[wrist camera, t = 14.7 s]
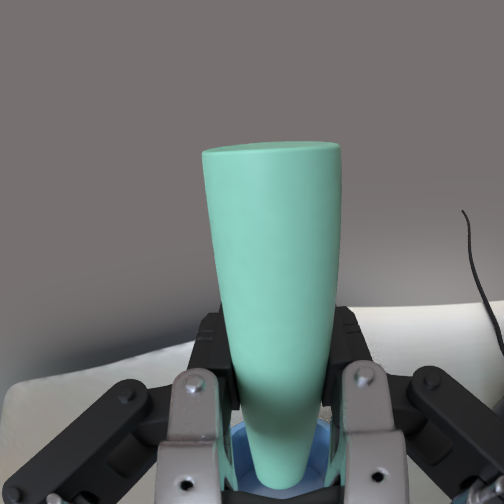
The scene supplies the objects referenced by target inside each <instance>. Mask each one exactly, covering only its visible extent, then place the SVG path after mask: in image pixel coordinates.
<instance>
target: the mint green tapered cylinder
mask: <svg viewBox="0 0 504 504" xmlns="http://www.w3.org/2000/svg"><path fill="white" fill-rule="evenodd" d="M202 163H203V172H204V180H205V189H206V196H207V205H208V212H209V220H210V227H211V235H212V242H213V249H214V255H215V262H216V269H217V276H218V282H219V288H220V294H221V301H222V307H223V313H224V319H225V325H226V330H227V336H228V342H229V347H230V353H231V358H232V363H233V368H234V373H235V378H236V384H237V389H238V394H239V399H240V404H241V409H242V413H243V418H244V423H245V427H246V432H247V437H248V441H249V446H250V450H251V454H252V459H253V463H254V467H255V471H256V475H257V478H258V479H259V481H260V482H261V483H262V484H263V485H265V486H266V487H269V488H272V489H278V490H281V489H287V488H290V487H293V486H294V485H296V484H297V483H299V482H300V481H301V479H302V478H303V476H304V473H305V470H306V466H307V462H308V458H309V454H310V450H311V446H312V442H313V438H314V433H315V429H316V424H317V420H318V415H319V410H320V405H321V400H322V394H323V388H324V383H325V377H326V371H327V365H328V358H329V352H330V344H331V337H332V329H333V321H334V312H335V302H336V292H337V280H338V267H339V250H340V231H341V230H340V229H341V194H342V184H341V180H342V176H341V175H342V174H341V173H342V171H341V147H340V145H339V144H337V143H330V142H310V141H301V142H300V141H299V142H298V141H294V142H293V141H291V142H267V143H252V144H243V145H233V146H225V147H219V148H213V149H209V150H205V151H204V152H203V153H202Z"/></svg>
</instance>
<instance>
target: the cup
mask: <svg viewBox="0 0 504 504" xmlns="http://www.w3.org/2000/svg"><path fill="white" fill-rule="evenodd" d="M231 438H232V449H233V460H234V469H235V475H236V479H237V484H238V491H244V492H248V493H252V494H256V495H261V496H266V497H271V498H276V499H287V498H291V497H294V496H298V495H301V494H305V493H308V492H311V491H314V490H317V489H320V488H323V487H324V483H325V477H326V472H327V467H328V456H329V439H330V425H329V424H328V423H327V422H325V421H323V420H321V419H319V418H318V420H317V424H316V429H315V433H314V438H313V442H312V446H311V450H310V454H309V458H308V462H307V466H306V470H305V473H304V476H303V478H302V479H301V481H300V482H299V483H297V484H296V485H294V486H293V487H290V488H287V489H281V490H278V489H272V488H269V487H266V486H265V485H263V484H262V483H261V482H260V481H259V479H258V478H257V475H256V471H255V467H254V463H253V459H252V454H251V450H250V446H249V441H248V437H247V432H246V427H245V423H244V421H243V422H241V423H239V424H237V425H235V426H234V427H233V428H232V429H231Z"/></svg>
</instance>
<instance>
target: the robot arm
mask: <svg viewBox="0 0 504 504" xmlns="http://www.w3.org/2000/svg"><path fill="white" fill-rule="evenodd" d="M462 213H463V214H464V216H465V218H466V221H467V225H468V252H469V260H470V264H471V269H472V272H473V276H474V278H475V281H476V284H477V287H478V290H479V292H480V294H481V297H482V299H483V302H484V304H485V306H486V309H487V311H488V313H489V315H490V318H491V320H492V322H493V324H494V327H495V330H496V334H497V339H498V343H499V346H500V349H501V351H502V353H503V355H504V343H503V339H502V335H501V331H500V327H499V325H498V322H497V320H496V318H495V316H494V313H493V311H492V309H491V307H490V305H489V303H488V300H487V298H486V296H485V294H484V291H483V289H482V287H481V284H480V282H479V279H478V276H477V273H476V270H475V267H474V263H473V259H472V253H471V235H470V223H469V220H468V217H467V215H466V214H465V212H464V211H463V210H462ZM322 406H323V407H325V406H331V411H332V417H331V421H330V439H329V456H328V467H327V472H326V477H325V483H324V487H323V488H320V489H317V490H314V491H311V492H308V493H305V494H301V495H298V496H294V497H291V498H287V499H276V498H271V497H266V496H261V495H256V494H252V493H248V492H244V491H238V484H237V479H236V475H235V469H234V460H233V449H232V438H231V426H230V420H231V411H232V410H239V409H240V399H239V394H238V389H237V384H236V378H235V373H234V368H233V363H232V358H231V353H230V347H229V342H228V336H227V330H226V325H225V319H224V313H223V307H222V301H221V305H220V309H219V313H208V314H207V316H206V317H205V318H204V319H203V320H202V321H201V324H200V327H199V330H198V334H197V337H196V341H195V344H194V347H193V350H192V354H191V357H190V361H189V364H188V367H187V370H186V371H184V372H182V373H180V374H179V375H178V376H177V377H176V378H175V380H174V382H173V384H171V385H168V386H163V387H157V388H151V389H147V388H146V386H145V385H144V384H143V383H142V382H140V381H138V380H135V379H126V380H122V381H120V382H118V383H116V384H115V385H114V386H112V387H111V388H110V389H109V390H108V391H107V392H106V393H105V394H103V395H102V396H101V397H100V398H99V399H98V400H97V401H96V402H95V403H93V404H92V405H91V406H90V407H89V408H88V409H87V410H86V411H84V412H83V413H82V414H81V415H80V416H79V417H78V418H77V419H76V420H74V421H73V422H72V423H71V424H70V425H69V426H68V427H67V428H65V429H64V430H63V431H62V432H61V433H60V434H59V435H58V436H56V437H55V438H54V439H53V440H52V441H51V442H50V443H49V444H47V445H46V446H45V447H44V448H43V449H42V450H41V451H39V452H38V453H37V454H36V455H35V456H34V457H33V458H32V459H30V460H29V461H28V462H27V463H26V464H25V465H24V466H22V467H21V468H20V469H19V470H18V471H17V472H16V473H14V474H13V475H12V476H11V477H10V478H9V479H8V480H7V481H6V482H5V483H4V485H3V489H2V497H3V501H4V503H5V504H116V503H117V502H118V501H119V500H120V499H121V498H122V497H123V496H124V495H125V494H126V493H127V492H128V491H129V490H130V489H131V488H132V487H133V486H134V485H135V484H136V483H137V482H138V481H139V480H140V479H141V478H142V476H143V475H144V474H145V473H146V472H147V471H148V470H149V469H150V468H151V467H152V466H153V464H154V463H155V462H156V461H157V466H156V480H155V499H154V504H409V480H408V466H407V455H408V456H409V457H410V458H411V459H412V460H413V461H414V462H415V463H416V464H417V465H418V466H419V467H420V468H421V469H422V470H423V471H424V472H425V473H426V474H427V475H428V477H429V478H430V479H431V480H432V481H433V482H434V483H435V484H436V485H437V486H438V487H439V488H440V489H441V490H442V491H443V492H444V493H445V494H446V495H447V496H448V497H449V498H450V499H451V500H452V502H451V504H504V397H503V399H502V400H500V401H499V403H498V404H497V405H496V406H495V408H494V409H493V410H491V409H490V408H488V407H487V406H486V405H485V404H484V403H482V402H481V401H480V400H479V399H478V398H476V397H475V396H474V395H473V394H472V393H470V392H469V391H468V390H467V389H466V388H464V387H463V386H462V385H461V384H460V383H458V382H457V381H456V380H455V379H453V378H452V377H451V376H450V375H449V374H447V373H446V372H445V371H444V370H442V369H440V368H438V367H435V366H423V367H421V368H419V369H417V370H416V371H415V372H414V374H413V376H412V377H411V376H397V375H391V374H388V373H386V372H385V370H384V369H383V368H382V367H381V366H380V365H379V364H377V363H375V362H373V360H372V357H371V355H370V352H369V349H368V347H367V344H366V342H365V339H364V336H363V334H362V333H361V329H360V326H359V325H358V322H357V319H356V317H355V314H354V313H353V312H352V311H351V310H350V309H348V308H347V307H346V306H341V307H337V306H336V303H335V312H334V321H333V329H332V337H331V344H330V352H329V358H328V365H327V371H326V377H325V383H324V388H323V394H322ZM406 454H407V455H406Z"/></svg>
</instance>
